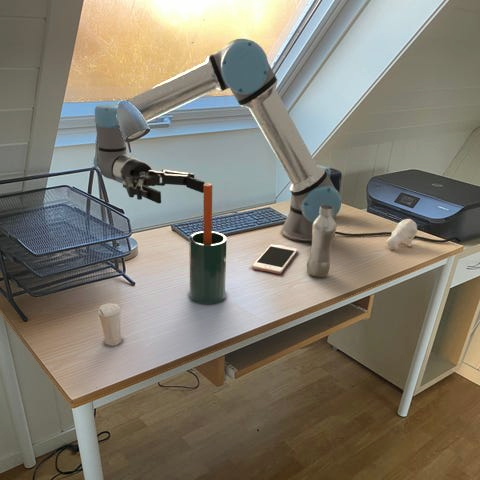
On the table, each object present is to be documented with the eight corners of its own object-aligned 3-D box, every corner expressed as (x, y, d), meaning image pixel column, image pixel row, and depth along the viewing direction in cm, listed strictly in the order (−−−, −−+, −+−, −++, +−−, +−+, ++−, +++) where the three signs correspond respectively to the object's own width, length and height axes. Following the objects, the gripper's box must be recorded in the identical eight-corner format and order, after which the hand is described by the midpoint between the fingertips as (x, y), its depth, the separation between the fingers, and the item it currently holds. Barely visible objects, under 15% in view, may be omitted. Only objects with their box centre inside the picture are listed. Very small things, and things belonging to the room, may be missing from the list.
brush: (213, 286, 126) (215, 181, 111) (219, 295, 122) (221, 187, 107) (195, 289, 125) (194, 182, 110) (200, 298, 121) (200, 188, 106)
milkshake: (96, 346, 103) (90, 306, 97) (110, 334, 107) (105, 295, 102) (114, 351, 101) (109, 311, 96) (127, 338, 106) (123, 299, 100)
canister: (335, 221, 175) (342, 172, 166) (309, 219, 176) (315, 169, 167) (336, 213, 183) (343, 165, 174) (311, 210, 184) (317, 163, 175)
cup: (218, 285, 129) (220, 229, 120) (229, 301, 122) (231, 243, 113) (186, 289, 126) (185, 232, 118) (195, 306, 119) (194, 247, 111)
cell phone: (251, 268, 139) (251, 265, 138) (271, 246, 153) (271, 243, 152) (280, 274, 136) (280, 271, 135) (297, 251, 150) (297, 248, 150)
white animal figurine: (421, 220, 154) (400, 231, 148) (416, 244, 159) (396, 256, 153) (404, 214, 158) (383, 225, 152) (399, 238, 163) (379, 249, 157)
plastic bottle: (314, 267, 141) (324, 201, 131) (333, 275, 137) (344, 208, 127) (300, 273, 137) (309, 206, 127) (319, 281, 133) (329, 213, 123)
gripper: (170, 179, 139) (219, 197, 126) (93, 195, 124) (140, 218, 111) (169, 153, 135) (220, 169, 122) (90, 166, 120) (138, 186, 107)
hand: (182, 192), depth 117 cm, fingers open, 13 cm apart
